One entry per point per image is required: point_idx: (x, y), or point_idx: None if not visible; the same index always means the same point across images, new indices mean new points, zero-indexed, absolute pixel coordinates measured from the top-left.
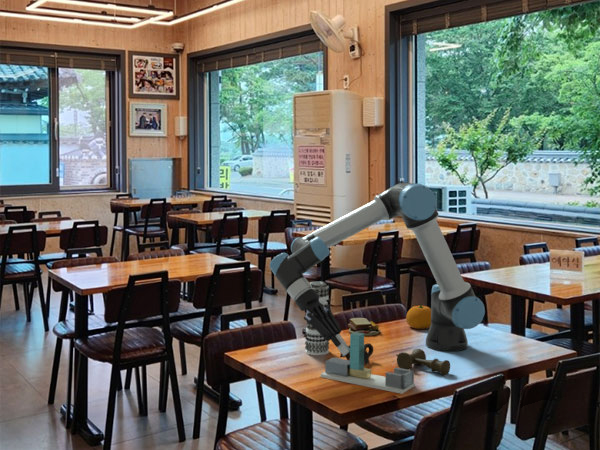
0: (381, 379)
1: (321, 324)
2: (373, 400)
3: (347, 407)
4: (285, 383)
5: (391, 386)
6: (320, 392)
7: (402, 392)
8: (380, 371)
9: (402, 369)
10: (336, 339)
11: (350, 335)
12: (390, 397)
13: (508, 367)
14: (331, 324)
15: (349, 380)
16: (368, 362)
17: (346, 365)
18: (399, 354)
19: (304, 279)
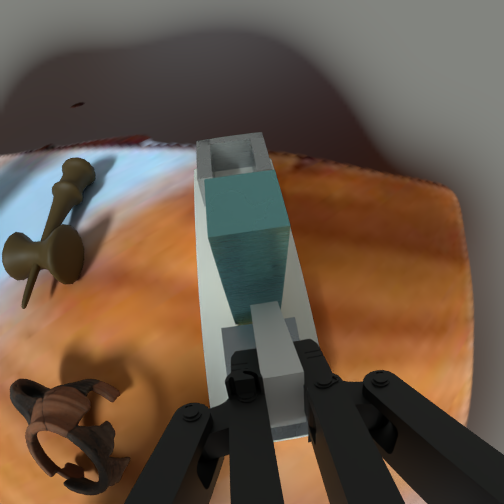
0: None
1: (455, 445)
2: (359, 181)
3: (432, 196)
4: None
5: None
6: (435, 306)
7: None
8: (127, 309)
9: (205, 159)
10: (312, 363)
11: (289, 230)
12: (312, 168)
13: (23, 156)
14: (272, 470)
15: (309, 304)
16: (83, 380)
17: (295, 320)
18: (53, 260)
19: None
